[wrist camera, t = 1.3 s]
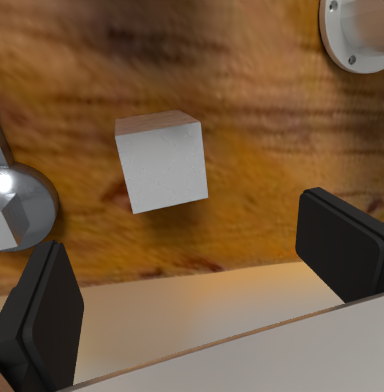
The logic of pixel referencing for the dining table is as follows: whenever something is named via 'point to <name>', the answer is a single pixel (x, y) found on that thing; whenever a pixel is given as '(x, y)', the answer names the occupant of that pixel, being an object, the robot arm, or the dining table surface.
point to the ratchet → (24, 203)
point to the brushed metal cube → (161, 159)
